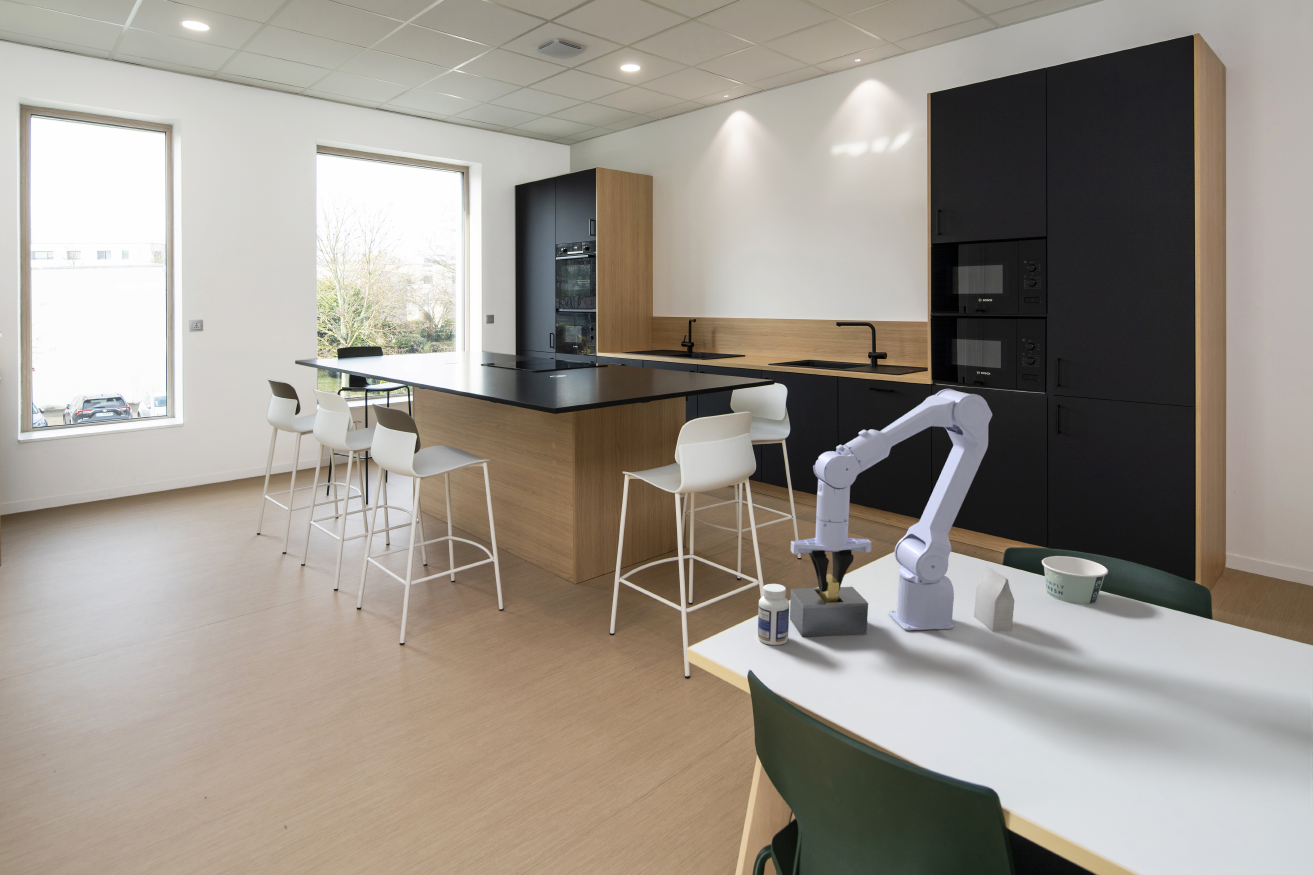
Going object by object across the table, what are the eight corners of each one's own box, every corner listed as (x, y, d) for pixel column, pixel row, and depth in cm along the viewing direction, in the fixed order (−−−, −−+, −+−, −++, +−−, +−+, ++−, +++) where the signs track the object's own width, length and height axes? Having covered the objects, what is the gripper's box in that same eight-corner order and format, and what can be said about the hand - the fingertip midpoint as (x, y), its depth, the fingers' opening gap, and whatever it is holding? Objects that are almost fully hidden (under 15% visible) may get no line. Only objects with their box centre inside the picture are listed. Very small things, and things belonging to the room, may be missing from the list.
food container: (1026, 590, 160) (1028, 560, 159) (1065, 581, 165) (1068, 552, 164) (1078, 610, 149) (1081, 579, 148) (1118, 601, 154) (1121, 570, 153)
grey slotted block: (850, 616, 145) (852, 586, 144) (866, 634, 138) (868, 602, 137) (789, 618, 144) (790, 588, 143) (802, 636, 136) (803, 605, 135)
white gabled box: (992, 631, 139) (997, 579, 137) (974, 616, 146) (978, 567, 144) (1011, 630, 140) (1016, 579, 138) (992, 616, 146) (996, 566, 144)
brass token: (829, 599, 142) (830, 573, 142) (837, 608, 138) (839, 582, 137) (819, 599, 142) (820, 574, 141) (827, 609, 138) (828, 582, 137)
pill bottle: (787, 633, 138) (789, 582, 136) (789, 646, 132) (791, 593, 131) (757, 632, 138) (758, 581, 137) (757, 645, 133) (759, 592, 131)
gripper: (862, 511, 142) (859, 580, 144) (787, 513, 141) (784, 582, 143) (877, 521, 135) (873, 594, 137) (798, 523, 134) (795, 596, 136)
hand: (828, 589), depth 140 cm, fingers closed on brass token, 2 cm apart
